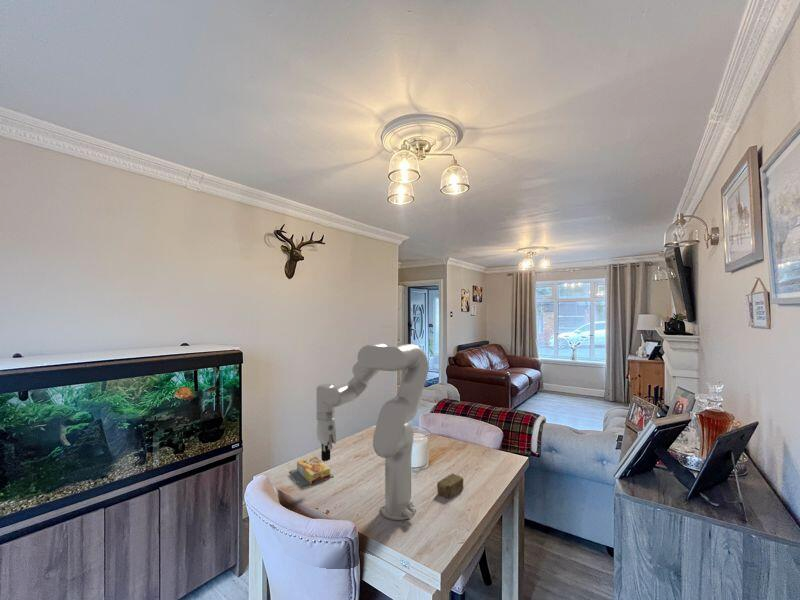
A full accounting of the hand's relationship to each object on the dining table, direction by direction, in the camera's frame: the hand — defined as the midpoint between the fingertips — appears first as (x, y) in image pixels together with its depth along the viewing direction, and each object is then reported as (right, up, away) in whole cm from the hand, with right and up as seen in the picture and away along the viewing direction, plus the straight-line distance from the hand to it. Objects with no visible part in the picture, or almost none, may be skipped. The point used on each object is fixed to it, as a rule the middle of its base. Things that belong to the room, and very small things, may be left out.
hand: (325, 459), depth 137 cm
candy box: (-3, -8, +3) cm, 9 cm away
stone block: (+51, -11, -4) cm, 52 cm away
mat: (-9, -11, +10) cm, 17 cm away
